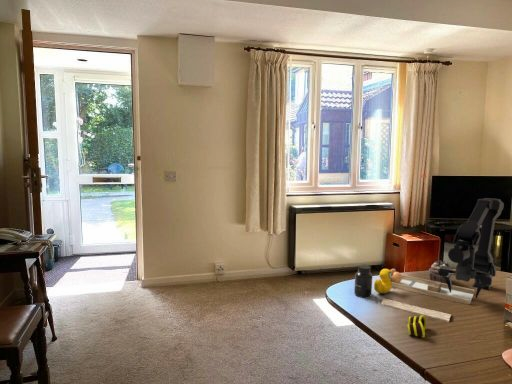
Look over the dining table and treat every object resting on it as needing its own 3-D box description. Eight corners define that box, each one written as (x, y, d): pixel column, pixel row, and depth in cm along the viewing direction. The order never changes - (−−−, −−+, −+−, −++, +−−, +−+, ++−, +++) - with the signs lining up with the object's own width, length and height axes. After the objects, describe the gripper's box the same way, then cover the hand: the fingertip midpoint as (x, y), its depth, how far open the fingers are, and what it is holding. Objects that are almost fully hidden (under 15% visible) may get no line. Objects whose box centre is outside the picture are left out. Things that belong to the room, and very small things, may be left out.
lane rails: (392, 276, 173) (392, 268, 172) (473, 294, 152) (474, 285, 152) (382, 285, 162) (382, 276, 161) (469, 305, 141) (470, 295, 141)
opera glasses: (410, 326, 126) (408, 312, 125) (427, 327, 123) (425, 312, 123) (408, 339, 117) (405, 324, 117) (425, 340, 115) (423, 325, 114)
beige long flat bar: (380, 306, 141) (381, 302, 141) (386, 300, 147) (386, 296, 146) (448, 323, 127) (449, 319, 127) (451, 316, 133) (452, 311, 133)
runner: (395, 278, 171) (395, 277, 171) (473, 295, 152) (473, 294, 152) (386, 285, 161) (387, 284, 161) (469, 304, 142) (469, 303, 142)
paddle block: (431, 280, 159) (441, 282, 156) (430, 287, 159) (440, 289, 157) (427, 285, 152) (438, 288, 150) (427, 292, 153) (437, 295, 150)
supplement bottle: (353, 296, 149) (354, 268, 147) (355, 290, 155) (356, 263, 154) (370, 299, 146) (372, 270, 145) (372, 293, 153) (373, 265, 151)
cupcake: (452, 280, 168) (453, 259, 167) (450, 287, 160) (452, 265, 159) (429, 276, 173) (430, 256, 172) (426, 282, 165) (428, 261, 164)
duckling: (386, 287, 159) (387, 265, 158) (397, 291, 155) (398, 268, 153) (370, 293, 152) (371, 270, 151) (381, 297, 148) (382, 273, 147)
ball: (406, 277, 163) (398, 282, 166) (398, 268, 165) (390, 273, 168) (402, 281, 160) (394, 286, 162) (394, 271, 161) (386, 277, 164)
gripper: (436, 258, 146) (434, 295, 148) (491, 267, 135) (488, 308, 137) (442, 252, 155) (439, 287, 157) (494, 260, 144) (490, 298, 145)
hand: (463, 295), depth 149 cm, fingers open, 9 cm apart
